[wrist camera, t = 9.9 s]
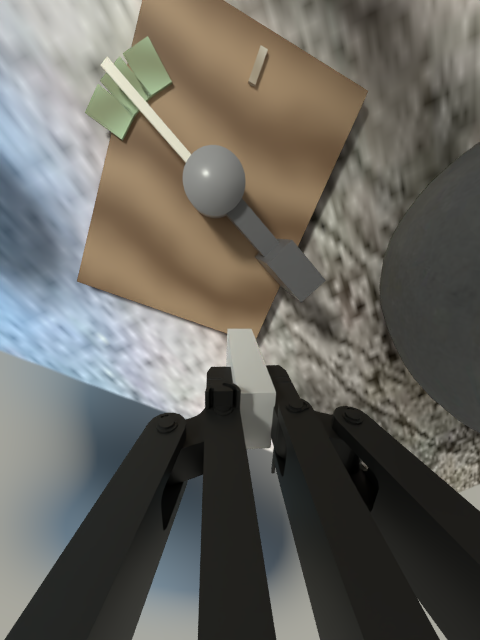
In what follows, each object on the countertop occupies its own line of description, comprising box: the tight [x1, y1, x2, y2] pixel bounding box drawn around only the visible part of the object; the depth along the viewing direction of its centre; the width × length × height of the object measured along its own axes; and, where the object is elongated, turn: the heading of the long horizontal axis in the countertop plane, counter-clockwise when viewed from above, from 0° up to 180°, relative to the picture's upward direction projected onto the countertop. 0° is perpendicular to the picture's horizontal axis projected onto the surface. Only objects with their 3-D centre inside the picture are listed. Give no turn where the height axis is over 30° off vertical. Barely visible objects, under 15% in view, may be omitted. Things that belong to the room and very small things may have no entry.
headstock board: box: [77, 0, 368, 339], centre depth 23 cm, size 24×20×2 cm
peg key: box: [101, 57, 326, 302], centre depth 19 cm, size 21×4×6 cm, turn 43°
